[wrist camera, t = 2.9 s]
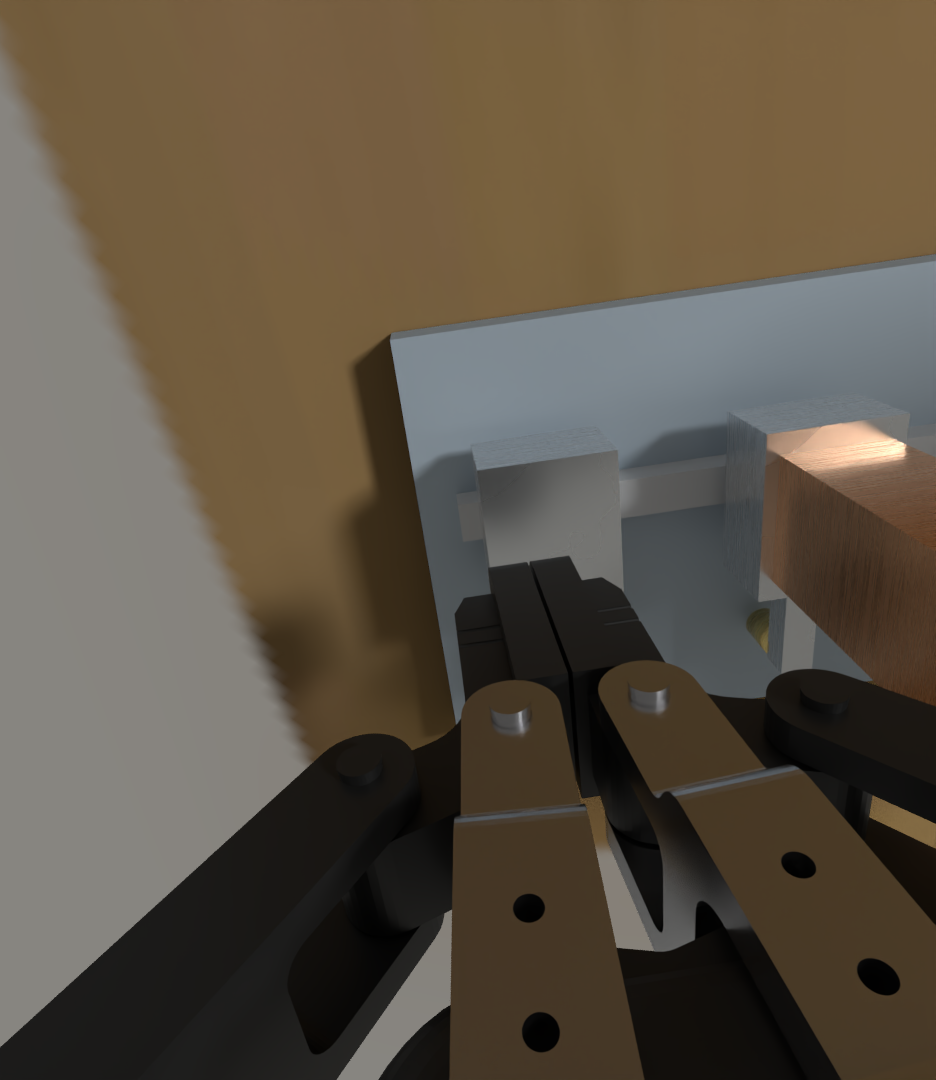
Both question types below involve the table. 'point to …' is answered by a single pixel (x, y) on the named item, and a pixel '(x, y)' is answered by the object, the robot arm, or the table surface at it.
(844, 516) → the sliding leg
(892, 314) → the bolt plate
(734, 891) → the robot arm
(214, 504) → the table surface
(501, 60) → the table surface
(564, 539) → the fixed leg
